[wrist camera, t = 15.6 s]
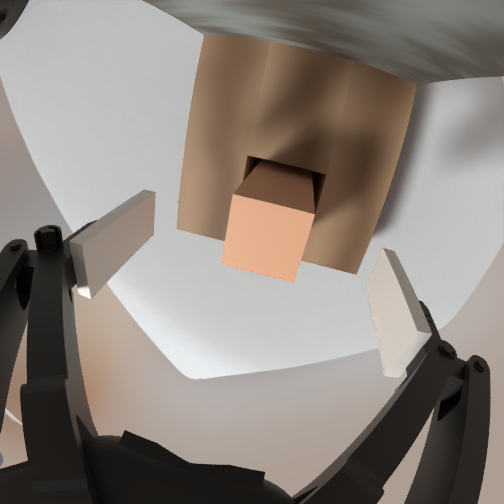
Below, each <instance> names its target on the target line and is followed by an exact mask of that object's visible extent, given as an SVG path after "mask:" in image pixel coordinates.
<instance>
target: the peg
mask: <svg viewBox="0 0 504 504" xmlns="http://www.w3.org/2000/svg"><path fill="white" fill-rule="evenodd" d="M314 216H315V208H314V195H313V183H312V172H311V170H307V169H304V168H300V167H296V166H292V165H288V164H284V163H279V162H275V161H271V160H267V159H262V160H261V161H260V162H259V164H258V165H257V166H256V167H255V168H254V169H253V171H252V172H251V173H250V174H249V175H248V177H247V178H246V179H245V180H244V181H243V182H242V184H241V185H240V186H239V187H238V188H237V190H236V191H235V192H234V193H233V196H232V201H231V207H230V213H229V219H228V225H227V232H226V238H225V244H224V250H223V257H222V263H221V264H222V265H226V266H230V267H234V268H238V269H241V270H245V271H249V272H253V273H257V274H261V275H265V276H269V277H273V278H277V279H281V280H285V281H289V282H293V283H294V280H295V277H296V274H297V271H298V268H299V265H300V262H301V259H302V256H303V252H304V249H305V246H306V243H307V239H308V236H309V233H310V230H311V226H312V223H313V220H314Z"/></svg>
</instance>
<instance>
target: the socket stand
mask: <svg viewBox="0 0 504 504" xmlns="http://www.w3.org/2000/svg"><path fill="white" fill-rule="evenodd" d="M143 1H145V2H147V3H149V4H151V5H153V6H155V7H157V8H159V9H160V10H162V11H164V12H166V13H168V14H170V15H172V16H173V17H175V18H177V19H179V20H180V21H182V22H184V23H185V24H187V25H189V26H191V27H192V28H194V29H195V30H197V31H199V32H200V33H202V34H203V35H204V39H203V43H202V48H201V53H200V58H199V63H198V68H197V73H196V79H195V84H194V90H193V96H192V102H191V108H190V114H189V121H188V128H187V135H186V142H185V150H184V158H183V167H182V176H181V185H180V196H179V207H178V219H177V229H179V230H183V231H187V232H191V233H195V234H199V235H203V236H207V237H211V238H215V239H219V240H223V241H225V238H226V232H227V225H228V219H229V213H230V207H231V201H232V196H233V193H234V192H235V191H236V190H237V188H238V187H239V186H240V185H241V184H242V182H243V181H244V180H245V179H246V178H247V177H248V175H249V174H250V173H251V172H252V171H253V169H254V164H255V159H256V157H257V158H262V159H267V160H271V161H275V162H279V163H284V164H288V165H292V166H296V167H300V168H304V169H307V170H311V171H315V172H319V173H320V175H319V179H318V182H317V186H316V190H315V193H314V208H315V216H314V220H313V223H312V226H311V230H310V233H309V236H308V239H307V243H306V246H305V249H304V252H303V256H302V259H301V261H305V262H309V263H313V264H317V265H321V266H325V267H329V268H333V269H337V270H341V271H344V272H348V273H352V274H357V272H358V269H359V267H360V265H361V262H362V260H363V258H364V255H365V253H366V250H367V248H368V245H369V243H370V240H371V238H372V235H373V232H374V230H375V227H376V225H377V222H378V219H379V216H380V214H381V211H382V208H383V205H384V202H385V200H386V197H387V194H388V191H389V188H390V185H391V182H392V179H393V176H394V172H395V169H396V166H397V163H398V159H399V156H400V153H401V149H402V146H403V142H404V138H405V135H406V131H407V127H408V123H409V119H410V115H411V111H412V107H413V103H414V99H415V94H416V89H417V85H418V84H425V83H431V82H439V81H446V80H455V79H465V78H477V77H494V76H504V0H143Z"/></svg>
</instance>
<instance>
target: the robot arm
mask: <svg viewBox="0 0 504 504" xmlns="http://www.w3.org/2000/svg"><path fill="white" fill-rule="evenodd" d="M27 1H28V0H0V39H1V38H2V37H3V36H4V35H5V34H6V33H7V32H8V31H9V30H10V29H11V27H12V26H13V25H14V23H15V22H16V20H17V19H18V17H19V16H20V14H21V12H22V10H23V8H24V7H25V5H26V3H27ZM155 193H156V192H153V191H148V190H143V191H141V192H140V193H138V194H137V195H135V196H134V197H132V198H130V199H129V200H127V201H126V202H124V203H123V204H121V205H120V206H118V207H117V208H115V209H114V210H112V211H111V212H109V213H108V214H106V215H105V216H103V217H102V218H100V219H99V220H96V221H93V222H90V223H88V224H86V225H85V226H83V227H82V228H81V229H79V230H78V231H76V233H73V234H72V235H71V236H69V237H68V238H67V239H65V240H64V241H63V240H62V233H61V228H60V227H59V226H56V225H47V226H44V227H41V228H39V229H38V230H36V231H35V233H34V238H35V243H36V248H37V250H28V245H27V242H26V241H25V240H22V239H15V240H12V241H11V242H9V243H8V244H7V245H6V246H5V247H4V248H3V250H2V251H1V253H0V433H1V429H2V424H3V419H4V413H5V406H6V401H7V395H8V390H9V386H10V381H11V377H12V372H13V368H14V364H15V361H16V357H17V353H18V349H19V346H20V343H21V340H22V336H23V333H24V330H25V327H26V324H27V321H28V327H27V383H26V384H24V385H22V386H21V388H20V401H21V413H22V423H23V432H24V439H25V445H26V451H27V457H28V461H25V462H22V463H19V464H16V465H12V466H9V467H5V468H2V469H0V504H377V503H378V501H379V500H380V499H381V497H382V496H383V494H384V490H383V489H382V488H383V486H384V484H385V483H386V481H387V480H388V479H389V477H390V476H391V475H392V474H393V472H394V471H395V469H396V468H397V467H398V465H399V464H400V462H401V461H402V459H403V458H404V457H405V455H406V454H407V452H408V450H409V449H410V447H411V446H412V444H413V443H414V441H415V439H416V438H417V436H418V435H419V433H420V431H421V430H422V428H423V426H424V424H425V423H426V421H427V419H428V418H429V416H430V414H431V412H432V410H433V408H434V412H433V416H432V420H431V425H430V428H429V432H428V436H427V440H426V443H425V447H424V450H423V453H422V457H421V460H420V463H419V466H418V469H417V472H416V475H415V477H414V480H413V483H412V485H411V488H410V491H409V493H408V495H407V498H406V500H405V503H404V504H477V503H478V499H479V494H480V490H481V486H482V481H483V475H484V469H485V463H486V455H487V448H488V437H489V424H490V369H489V366H488V364H487V362H486V361H485V360H484V359H483V358H481V357H480V356H477V355H473V356H471V357H470V359H469V360H468V361H467V362H466V361H464V360H461V359H459V358H457V354H456V351H455V349H454V348H453V347H452V346H451V345H450V344H449V343H448V342H446V341H444V340H441V338H440V335H439V333H438V330H437V328H436V326H435V323H433V322H434V321H433V319H432V317H431V314H430V312H429V310H428V308H427V307H426V306H425V304H424V303H423V302H422V301H419V300H418V299H417V296H416V294H415V292H414V290H413V288H412V286H411V283H410V281H409V279H408V277H407V275H406V273H405V271H404V269H403V267H402V265H401V263H400V261H399V259H398V257H397V255H396V253H395V251H392V250H388V249H385V248H383V249H382V252H381V254H380V256H379V259H378V261H377V263H376V265H375V268H374V270H373V272H372V274H371V276H370V279H369V281H368V283H367V285H366V287H365V288H366V292H367V296H368V300H369V304H370V309H371V313H372V317H373V322H374V326H375V331H376V335H377V340H378V345H379V350H380V355H381V360H382V366H383V371H384V376H388V377H397V378H398V377H400V375H401V374H402V373H403V372H404V371H405V369H406V371H407V377H406V378H405V380H404V381H403V382H402V383H401V384H400V385H399V386H398V388H397V389H396V390H395V393H394V394H393V396H392V397H391V398H390V399H389V401H388V402H387V403H386V405H385V406H384V407H383V408H382V410H381V411H380V412H379V413H378V414H377V416H376V417H375V418H374V419H373V420H372V422H371V423H370V424H369V425H368V426H367V427H366V428H365V430H364V431H363V432H362V433H361V434H360V435H359V436H358V437H357V439H356V440H355V441H354V442H353V443H352V444H351V445H350V446H349V447H348V448H347V449H346V450H345V451H344V452H343V453H342V454H341V455H340V456H339V457H338V458H337V459H336V460H335V461H334V462H333V463H332V464H331V465H330V466H329V467H328V468H327V469H326V470H325V471H324V472H323V473H321V474H320V475H319V476H318V477H317V478H316V479H315V480H314V481H312V482H311V483H310V484H309V485H307V486H306V487H305V488H303V489H302V490H301V491H299V492H298V493H297V494H296V495H294V496H293V497H290V496H289V495H288V494H287V493H286V492H285V491H284V490H283V489H281V488H280V487H278V486H277V485H275V484H273V483H271V482H270V481H267V480H265V479H264V475H265V472H262V471H257V470H251V469H246V468H241V467H237V466H232V465H212V464H194V463H189V462H187V461H185V460H183V459H182V458H180V457H178V456H177V455H175V454H173V453H172V452H170V451H169V450H167V449H165V448H164V447H162V446H161V445H159V444H158V443H155V442H153V441H150V440H148V439H145V438H142V437H140V436H138V435H135V434H133V433H130V432H128V431H126V430H125V431H124V433H123V435H122V437H120V436H111V435H107V436H98V433H97V431H96V428H95V426H94V424H93V421H92V417H91V413H90V409H89V405H88V401H87V396H86V391H85V386H84V381H83V376H82V370H81V365H80V358H79V352H78V344H77V335H76V327H75V315H74V302H73V292H72V288H73V286H75V284H77V288H78V292H79V294H81V295H83V296H85V297H88V298H90V299H92V298H93V297H94V295H95V294H96V293H97V292H98V291H99V290H100V289H101V288H102V287H103V286H104V285H105V284H106V283H107V281H108V280H109V279H110V278H111V277H112V276H113V275H114V274H115V273H116V272H117V271H118V270H119V269H120V268H121V267H122V266H123V265H124V264H125V263H126V262H127V261H128V260H129V259H130V258H131V257H132V256H133V255H134V254H135V253H136V252H137V251H138V250H139V249H140V248H141V247H142V246H143V245H144V244H145V243H146V242H147V241H148V240H149V239H150V238H151V237H152V236H153V235H154V213H155ZM434 406H435V407H434ZM2 463H3V456H2V454H1V453H0V465H2Z"/></svg>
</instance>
